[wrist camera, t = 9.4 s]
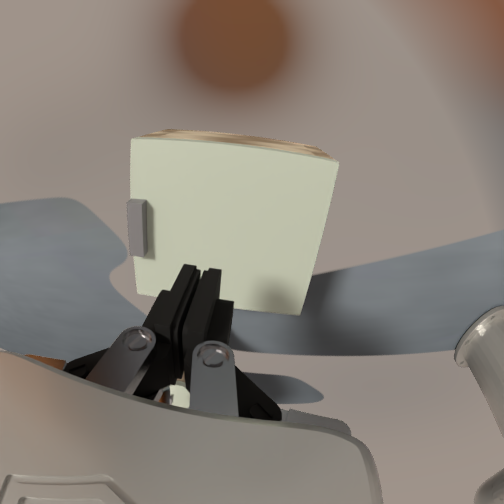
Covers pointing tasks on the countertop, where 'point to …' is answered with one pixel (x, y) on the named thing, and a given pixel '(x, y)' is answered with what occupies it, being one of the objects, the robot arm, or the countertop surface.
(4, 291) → the countertop surface
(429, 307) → the countertop surface
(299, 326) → the countertop surface
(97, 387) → the robot arm
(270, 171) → the box lid
